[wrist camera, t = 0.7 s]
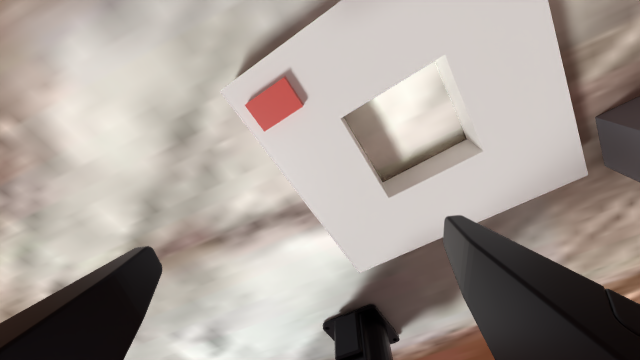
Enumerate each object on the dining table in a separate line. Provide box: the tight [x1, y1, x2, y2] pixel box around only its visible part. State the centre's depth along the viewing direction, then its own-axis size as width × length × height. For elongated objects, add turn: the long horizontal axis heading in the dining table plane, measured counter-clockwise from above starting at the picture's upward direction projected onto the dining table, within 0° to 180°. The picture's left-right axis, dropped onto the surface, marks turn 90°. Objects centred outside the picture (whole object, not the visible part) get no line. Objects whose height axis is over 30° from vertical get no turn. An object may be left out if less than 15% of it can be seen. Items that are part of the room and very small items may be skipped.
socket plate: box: [220, 0, 588, 273], centre depth 19 cm, size 18×18×3 cm
